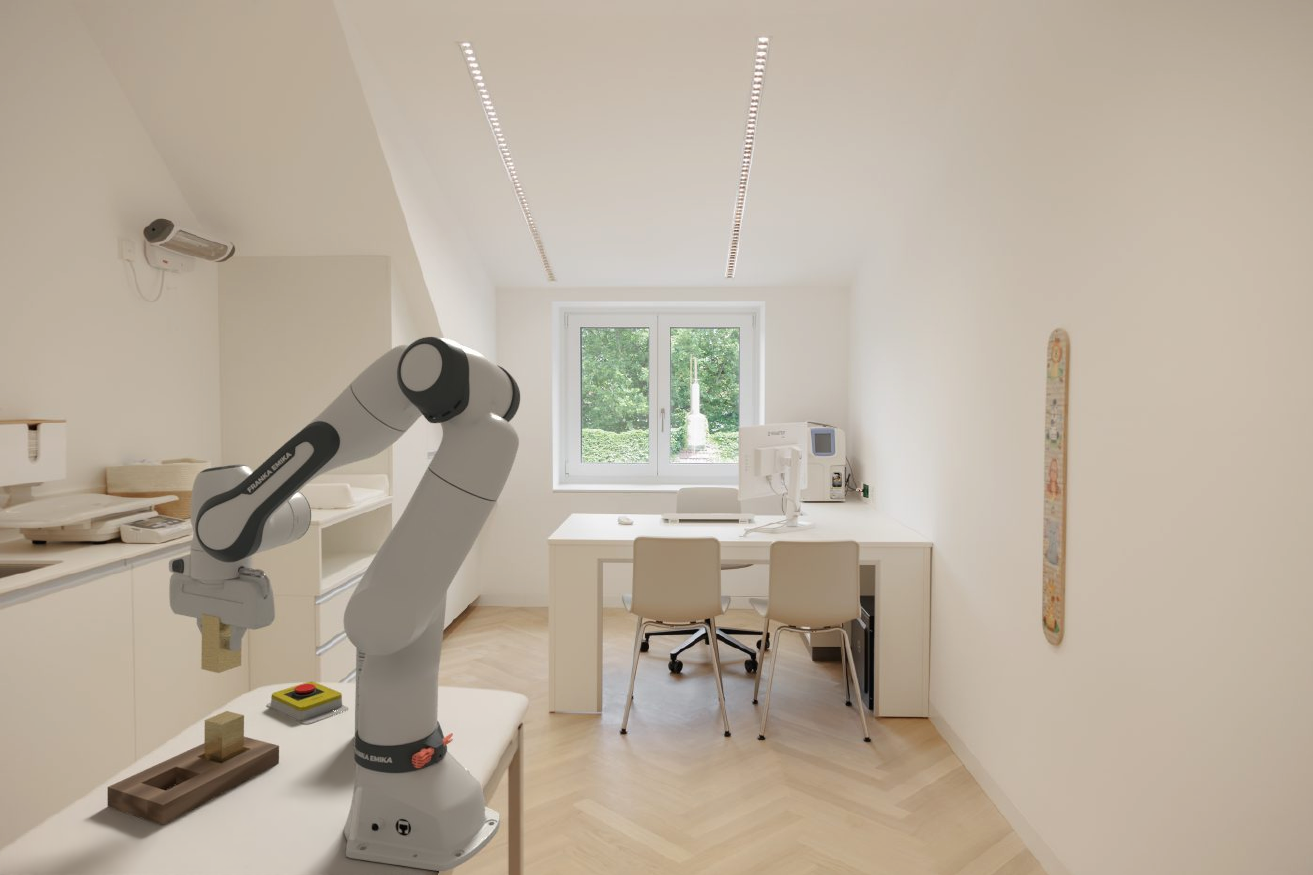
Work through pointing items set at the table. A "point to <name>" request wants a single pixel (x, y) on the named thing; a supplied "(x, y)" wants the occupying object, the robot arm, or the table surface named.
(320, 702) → the emergency button
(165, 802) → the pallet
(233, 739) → the seated billet
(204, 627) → the block
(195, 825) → the table surface
